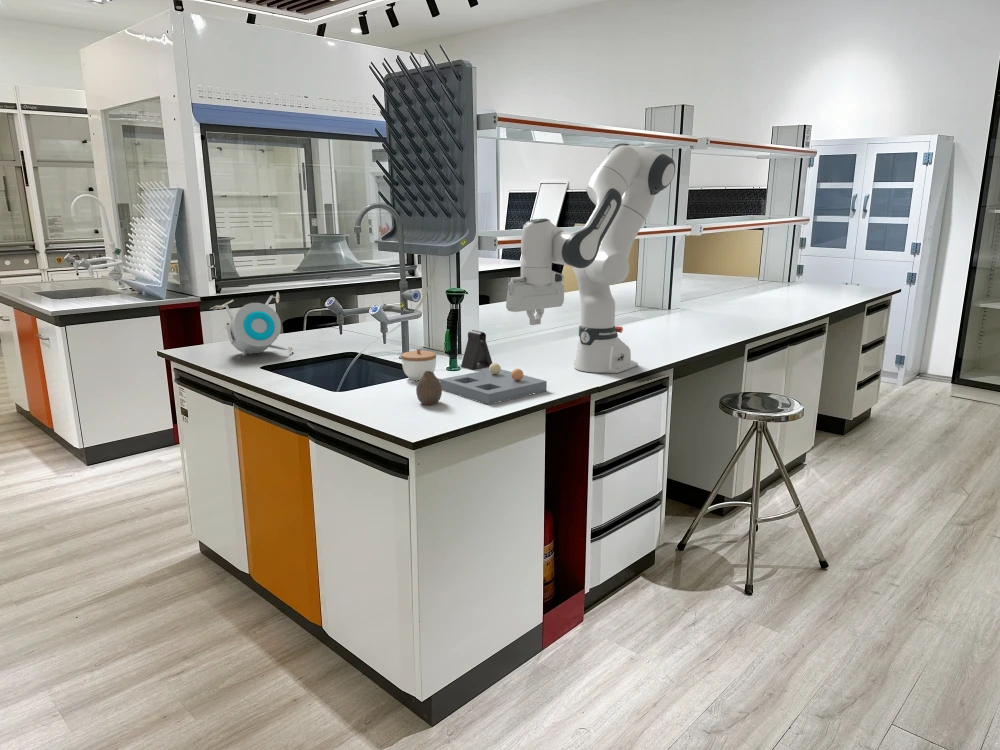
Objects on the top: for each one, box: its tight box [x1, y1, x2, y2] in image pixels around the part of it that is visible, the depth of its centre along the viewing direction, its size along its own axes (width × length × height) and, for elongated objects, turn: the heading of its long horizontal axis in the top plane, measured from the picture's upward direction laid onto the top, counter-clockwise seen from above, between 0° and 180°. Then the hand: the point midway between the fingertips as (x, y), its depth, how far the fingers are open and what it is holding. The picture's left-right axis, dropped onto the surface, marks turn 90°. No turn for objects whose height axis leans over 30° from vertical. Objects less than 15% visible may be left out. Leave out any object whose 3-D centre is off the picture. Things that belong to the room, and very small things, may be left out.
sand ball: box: [488, 362, 501, 375], centre depth 208 cm, size 4×4×4 cm
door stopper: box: [460, 329, 494, 371], centre depth 231 cm, size 9×6×12 cm, turn 131°
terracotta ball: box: [511, 368, 524, 381], centre depth 201 cm, size 4×4×4 cm
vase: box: [415, 371, 443, 406], centre depth 188 cm, size 7×7×9 cm
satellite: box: [209, 291, 294, 359], centre depth 249 cm, size 23×20×25 cm
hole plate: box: [439, 368, 548, 405], centre depth 202 cm, size 22×22×3 cm
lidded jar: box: [400, 348, 437, 381], centre depth 215 cm, size 11×11×9 cm
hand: (535, 324), depth 202 cm, fingers closed
